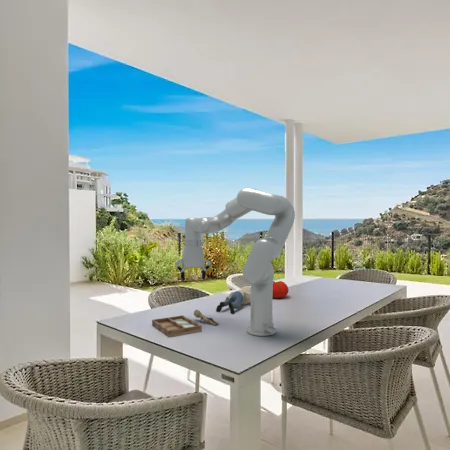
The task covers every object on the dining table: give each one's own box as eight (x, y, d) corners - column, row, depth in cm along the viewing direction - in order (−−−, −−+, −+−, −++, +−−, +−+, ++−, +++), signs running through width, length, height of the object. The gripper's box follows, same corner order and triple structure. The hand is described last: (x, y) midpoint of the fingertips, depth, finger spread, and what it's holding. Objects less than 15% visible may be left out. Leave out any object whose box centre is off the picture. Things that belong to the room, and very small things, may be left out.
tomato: (285, 294, 245) (285, 279, 245) (290, 300, 229) (290, 283, 228) (263, 294, 244) (263, 279, 244) (266, 300, 228) (266, 283, 228)
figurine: (218, 328, 176) (196, 316, 186) (220, 319, 176) (197, 307, 185) (213, 330, 174) (190, 318, 183) (215, 321, 173) (192, 309, 182)
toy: (245, 320, 192) (268, 303, 218) (244, 300, 191) (267, 286, 217) (206, 314, 203) (232, 299, 229) (205, 296, 202) (231, 282, 228)
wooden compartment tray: (201, 331, 165) (201, 325, 165) (169, 337, 157) (168, 331, 157) (182, 320, 183) (182, 315, 183) (152, 325, 175) (152, 319, 175)
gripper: (209, 242, 185) (209, 277, 185) (173, 243, 180) (174, 279, 180) (212, 243, 177) (212, 280, 178) (176, 244, 173) (176, 281, 173)
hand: (193, 279), depth 179 cm, fingers open, 9 cm apart
